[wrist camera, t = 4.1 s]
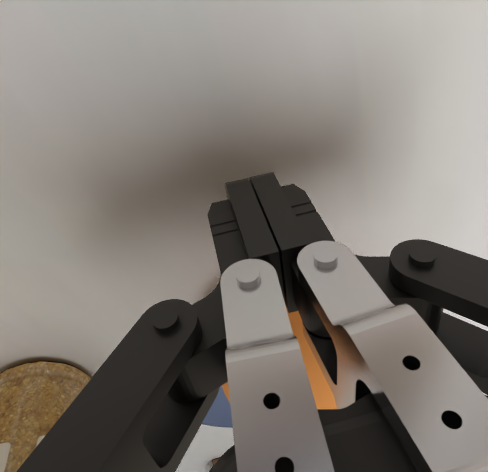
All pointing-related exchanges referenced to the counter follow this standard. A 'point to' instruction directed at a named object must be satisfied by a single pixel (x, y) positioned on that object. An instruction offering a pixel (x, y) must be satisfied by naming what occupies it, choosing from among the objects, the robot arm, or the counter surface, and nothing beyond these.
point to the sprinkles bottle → (33, 406)
